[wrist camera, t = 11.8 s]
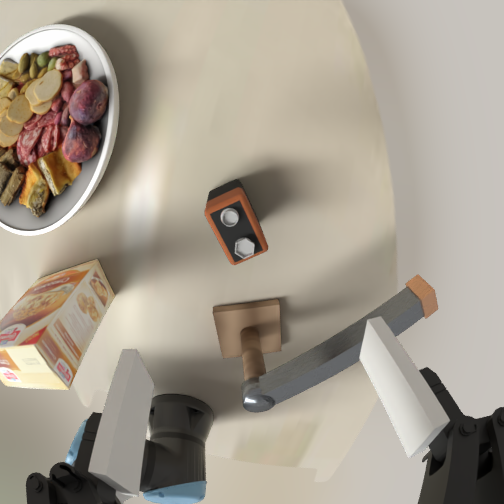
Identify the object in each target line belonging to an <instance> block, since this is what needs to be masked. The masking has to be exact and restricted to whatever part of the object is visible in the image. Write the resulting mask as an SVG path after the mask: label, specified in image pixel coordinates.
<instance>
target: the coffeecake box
mask: <svg viewBox="0 0 504 504" xmlns="http://www.w3.org/2000/svg"><path fill="white" fill-rule="evenodd" d="M114 297H115V294H114V292H113V290H112V289H111V287H110V285H109V283H108V281H107V279H106V276H105V274H104V271H103V269H102V267H101V265H100V263H99V260H98V259H96V260H93V261H89V262H86V263H83V264H80V265H77V266H74V267H71V268H68V269H65V270H62V271H59V272H57V273H54V274H51V275H48V276H45V277H43V278H40V279H38V280H37V281H36V282H35V283H34V284H33V285H32V286H31V287H30V288H29V289H28V291H27V292H26V293H25V294H24V295H23V296H22V297H21V298H20V299H19V300H18V302H17V303H16V304H15V305H14V306H13V307H12V308H11V310H10V311H9V312H8V313H7V314H6V315H5V317H4V318H3V319H2V320H1V321H0V380H1V381H2V382H3V383H4V384H5V385H6V386H13V387H23V388H38V389H65V390H69V389H70V386H71V384H72V381H73V379H74V377H75V374H76V372H77V370H78V368H79V366H80V364H81V362H82V359H83V357H84V355H85V353H86V351H87V349H88V347H89V345H90V343H91V341H92V339H93V337H94V335H95V333H96V331H97V329H98V327H99V325H100V323H101V321H102V319H103V317H104V315H105V314H106V312H107V310H108V308H109V306H110V304H111V303H112V301H113V299H114Z"/></svg>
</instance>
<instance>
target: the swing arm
mask: <svg viewBox="0 0 504 504" xmlns="http://www.w3.org/2000/svg"><path fill="white" fill-rule="evenodd" d="M436 310H438V305H437V299H436V295H435V290H434V289H433V288H432V287H431V286H430V285H429V284H428V283H427V282H426V281H425V280H424V279H422V278H421V277H420V276H419V275H416V276H415V277H414V278H412V279H411V280H410V281H408V282H407V283H406V288H405V289H403V290H402V291H401V292H399V293H398V294H397V295H395V296H394V297H392V298H391V299H390V300H388V301H387V302H385V303H384V304H382V305H381V306H380V307H378V308H377V309H375V310H374V311H372V312H371V313H369V314H368V315H366V316H365V317H363V318H362V319H360V320H359V321H357V322H356V323H354V324H352V325H351V326H349V327H348V328H346V329H345V330H343V331H341V332H340V333H338V334H336V335H335V336H333V337H331V338H330V339H328V340H326V341H325V342H323V343H321V344H320V345H318V346H316V347H314V348H313V349H311V350H309V351H307V352H306V353H304V354H302V355H300V356H298V357H297V358H295V359H293V360H291V361H289V362H287V363H285V364H283V365H282V366H280V367H278V368H276V369H274V370H272V371H270V372H268V373H266V374H264V375H262V376H260V377H253V378H250V379H248V380H246V381H245V382H244V383H243V384H242V398H243V407H244V408H245V409H246V410H247V411H250V412H263V411H267V410H269V409H271V408H272V407H273V406H274V405H275V404H278V403H280V402H282V401H284V400H286V399H289V398H291V397H293V396H295V395H297V394H299V393H301V392H303V391H305V390H307V389H309V388H311V387H313V386H315V385H317V384H319V383H321V382H322V381H324V380H326V379H328V378H330V377H332V376H334V375H335V374H337V373H339V372H341V371H342V370H344V369H346V368H348V367H349V366H351V365H353V364H354V363H356V362H358V361H359V360H360V359H359V356H360V352H361V348H362V343H363V339H364V334H365V329H366V324H367V319H372V318H376V317H380V316H381V317H382V319H383V320H384V321H385V323H386V324H387V325H388V327H389V328H390V330H391V331H392V332H393V334H394V335H395V337H396V336H397V335H399V334H400V333H402V332H403V331H405V330H406V329H408V328H409V327H410V326H412V325H413V324H414V323H415V322H417V321H418V320H420V319H421V318H422V317H425V318H428V317H429V316H430V315H431V314H433V313H434V312H435V311H436Z"/></svg>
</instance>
